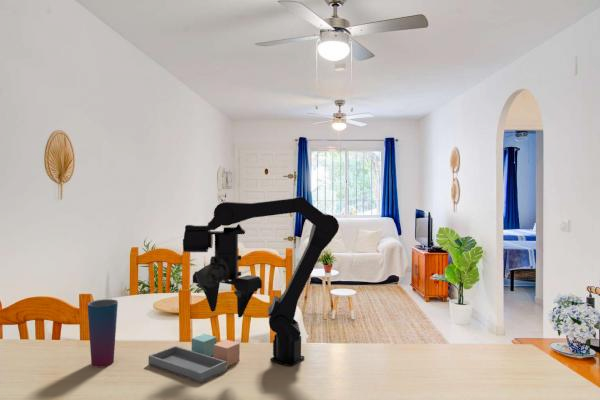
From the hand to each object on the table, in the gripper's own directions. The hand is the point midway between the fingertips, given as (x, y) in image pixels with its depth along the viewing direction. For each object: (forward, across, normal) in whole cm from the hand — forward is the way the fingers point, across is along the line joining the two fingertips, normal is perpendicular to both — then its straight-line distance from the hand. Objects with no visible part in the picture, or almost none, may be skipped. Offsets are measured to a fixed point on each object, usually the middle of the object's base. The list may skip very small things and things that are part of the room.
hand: (226, 314), depth 110 cm
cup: (+12, -24, -19) cm, 32 cm away
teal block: (+12, -8, 0) cm, 14 cm away
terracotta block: (+12, 0, 0) cm, 12 cm away
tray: (+12, -5, -8) cm, 15 cm away
